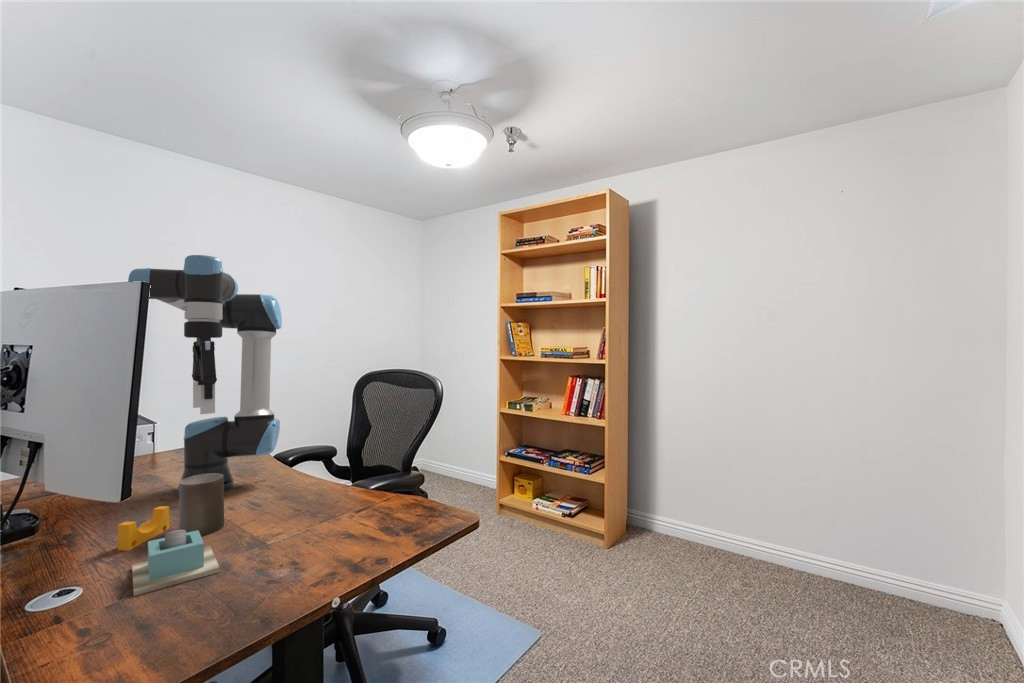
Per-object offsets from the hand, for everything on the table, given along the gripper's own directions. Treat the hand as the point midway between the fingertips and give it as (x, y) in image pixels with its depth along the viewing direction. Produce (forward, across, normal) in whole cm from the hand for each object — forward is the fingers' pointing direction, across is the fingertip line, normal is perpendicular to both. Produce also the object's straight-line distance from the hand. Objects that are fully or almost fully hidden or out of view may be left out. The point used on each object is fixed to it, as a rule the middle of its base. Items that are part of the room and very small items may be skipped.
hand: (203, 410), depth 107 cm
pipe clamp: (+33, -15, -11) cm, 38 cm away
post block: (+33, +9, -6) cm, 34 cm away
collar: (+32, +9, -6) cm, 33 cm away
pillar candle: (+33, -12, +1) cm, 35 cm away
